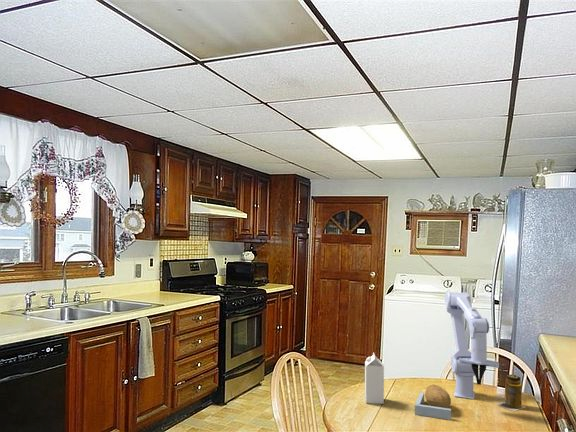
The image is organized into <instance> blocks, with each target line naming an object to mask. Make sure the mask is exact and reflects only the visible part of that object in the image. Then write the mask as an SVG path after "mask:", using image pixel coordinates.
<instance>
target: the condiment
mask: <svg viewBox="0 0 576 432" xmlns="http://www.w3.org/2000/svg"><path fill="white" fill-rule="evenodd" d="M522 393H523V392H522V382H521V376H519V375H516V374H506V375H505V382H504V403H500V404H497V406H499V407H500V408H503V409H507V410H510V411H512V412H517V411H519V410H522V409H526V406H524V405H523V404H522V403H523V402H522V399H523V398H522Z"/></svg>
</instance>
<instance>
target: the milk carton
mask: <svg viewBox="0 0 576 432" xmlns="http://www.w3.org/2000/svg"><path fill="white" fill-rule="evenodd" d="M384 374H385V368H384V364H383V362H382V361H381V360H380V359H379V358H378V357H377V356H376V355H375V352H372V355H371V356H368V357H366V359H365V361H364V400H365V404H373V405H374V404H377V405H379V404H381V405H384V404H385V401H384V398H385V393H384V392H385V387H384V386H385V382H384V377H385V375H384Z"/></svg>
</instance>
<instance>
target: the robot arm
mask: <svg viewBox="0 0 576 432" xmlns="http://www.w3.org/2000/svg"><path fill="white" fill-rule="evenodd" d="M471 302H472V300H471V294H470V293H469V292H467V291H465V292H452V291H451V292H449V291H447V292H446V293H445V297H444V303H445V309H446V312H447V313H449V314H450V318H451V324H452V330H453V336H454V342H455V343H454V344H455V350H456V351H455V352H453V354H451V356H450V368H451V372H453V373H454V374H455V389H454V393H453V394H454V395H453V396H454V397H455V398H456V397H457V398H463V399H469V400H475V394H476V393H475V390H474V376H475V379H476V385H479V386H481V385H482V380H483V377H484V375H485V373H486V370H487V367H489V368H495V369H500V362H499V361H496V360H495V361H494V360H490V359H488V358H487V356H488V355H487V354H488V353H487V350H488V349H487V348H488V347H487V343H488V342H487V339H488V338H487V337H488V336H487V334H489V332H490V322H489V320H488V319H487V318H485V317H482V316H481V314H480V313H479V312H478V310H477V309H476V308H475V307H472V305H471ZM463 317H464V318H463ZM464 319H465V320H466V322H467V323H468V330H469V337H470V350H469V348H468V347H469V346H468V341H467V336H466V335H467V334H466V329H465V323H464Z"/></svg>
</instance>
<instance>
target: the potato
mask: <svg viewBox="0 0 576 432" xmlns="http://www.w3.org/2000/svg"><path fill="white" fill-rule="evenodd" d="M424 392H425V393H424V399H425V400H426V403H427V404H428V406H434V407H441V408H448V409H449V407H450V406H451V405H452V399H451V396H450V394H449V392H447V390H445V389H443V387H441V386H440V385H436V384H429V385H428V386H427V387H426V389H425V391H424Z"/></svg>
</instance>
